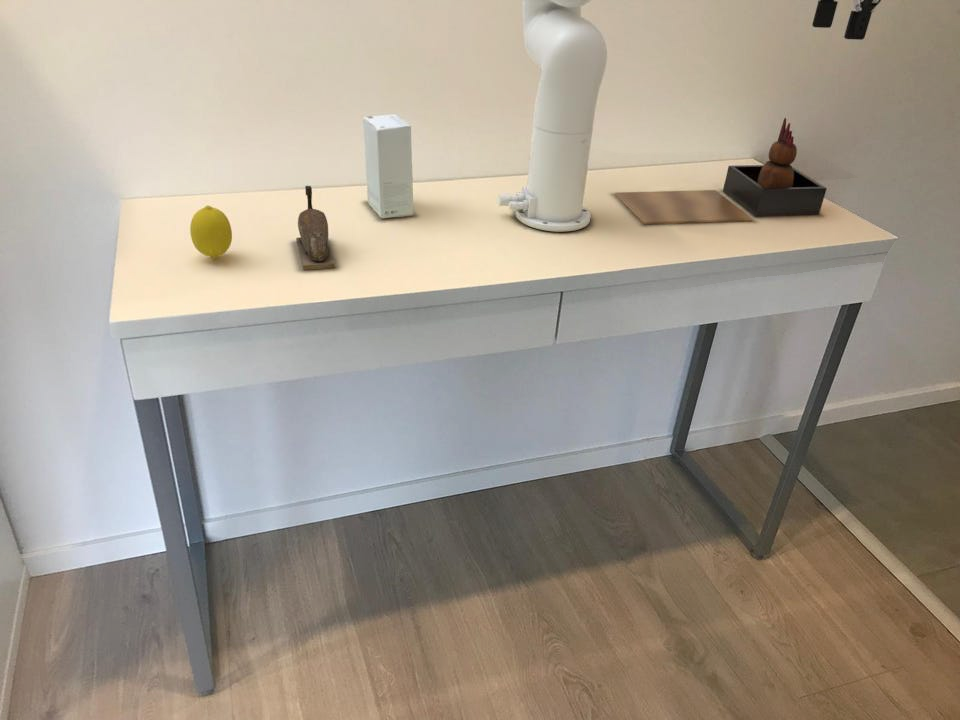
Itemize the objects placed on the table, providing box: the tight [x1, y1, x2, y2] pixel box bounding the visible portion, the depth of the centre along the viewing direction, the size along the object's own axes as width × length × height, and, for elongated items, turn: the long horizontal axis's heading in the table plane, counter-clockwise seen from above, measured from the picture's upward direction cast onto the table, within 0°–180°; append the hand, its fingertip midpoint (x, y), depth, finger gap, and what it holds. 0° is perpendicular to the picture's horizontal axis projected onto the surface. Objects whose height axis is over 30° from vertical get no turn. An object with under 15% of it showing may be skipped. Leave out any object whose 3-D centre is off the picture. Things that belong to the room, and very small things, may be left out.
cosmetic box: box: [362, 113, 414, 219], centre depth 130 cm, size 8×6×15 cm
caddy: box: [722, 164, 827, 218], centre depth 145 cm, size 13×13×5 cm
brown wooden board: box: [615, 189, 753, 225], centre depth 142 cm, size 20×14×1 cm
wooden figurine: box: [758, 117, 798, 188], centre depth 143 cm, size 7×6×15 cm
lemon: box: [189, 205, 233, 260], centre depth 112 cm, size 6×6×8 cm
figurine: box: [295, 185, 336, 271], centre depth 116 cm, size 14×4×9 cm, turn 17°
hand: (837, 32), depth 128 cm, fingers open, 9 cm apart
